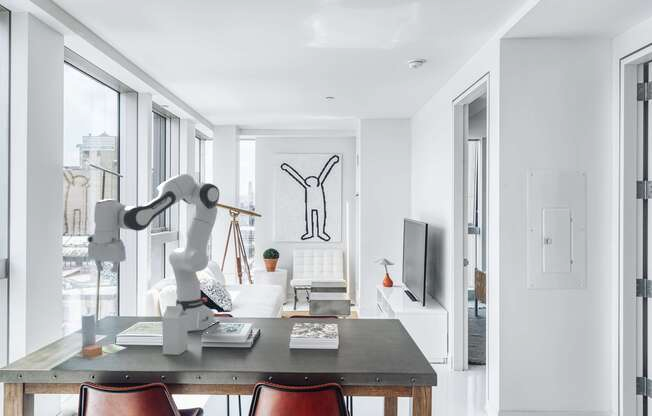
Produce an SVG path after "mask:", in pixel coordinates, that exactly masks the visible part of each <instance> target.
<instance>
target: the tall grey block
mask: <svg viewBox="0 0 652 416" xmlns="http://www.w3.org/2000/svg"><path fill="white" fill-rule="evenodd" d="M81 337H82V338H81V341H82V342H81V343H82V349H83V348H84V347H88V346H91V345H94V344H95V345H97V343H96V341H97V340H96V314H95V313H87V314H83V315H81Z"/></svg>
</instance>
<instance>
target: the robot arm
mask: <svg viewBox="0 0 652 416" xmlns="http://www.w3.org/2000/svg"><path fill="white" fill-rule="evenodd" d="M155 196H156V198H154V199H153V200H151V201H150V202H148V203H147V204H145V205H137V206H128V205H125V204H123V203H122V202H121V203H120V202H119V201H117V199H115V198H108V199H107V198H105V199H100V200H98V201H96V203H95V206H94V213H93V218H94V219H93V221H94V223H95V224H94V225H95V226H94V234H92V235H89V236H88V237H87V239H86V240H87V243H88V244H87V254H88V258H89V260H92V261H94V263H95V266H96V270H97V272H102V271H104V266H103V263H102V261H104V262H111V263H112V267H110V270H111V273H114V274H115V273H118V268H119V266H120V263H121V262H125V261H126V259H127V255H126V248H125V244H124V241H123V240H122V239H121V238H119V229H123V230H131V231H136V232H139V231H143V230H145V229H147V228H148V227H149V226H150V225H151V223H152V221H153V220H154V219H155V218H156V217H157V216H160V214H162V213H163V212H165V211H166V210H167V209H169V208H170V207H172V206H173V205H175V204H176V203H179V202H180V201H183V202H184V203H187V204H189V205H195V212H194V213H193V215H192V219H191V221H190V223H189V226H188V228H187V231H186V234H185V235H186V238H187V239H186V247H183V246H182V247H178V248H175V249H173V250H172V251H171V252H170V253H169V256H168V261H169V264H170V265H171V267H172V270H173V274H174V278H175V282H176V284H175V285H176V301H175V306H182V308H183V310H184V311H185V312H186V314H187V332H193V331H204V330H206V329H209V328H210V327H209V326H210V325H211V324H212V323H216V322H219V323H220V320H219V319H217V318H215V314H214V310H212V309H211V308H209V307H207V305H205V304H204V302H205V303H207V302H208V298H207V297H201V296H202V295H201V281H200V279H199V277H198V275H197V272H198V273H199V272H201V271H203V270H205V269H206V268H207V267H208V264H209V258H208V257H209V256H208V252H207V250H208V243H209V240H210V236H211V234H212V231H213V228H214V226H215V223H216V221H217V220H216V219H217V216H218V207H217V204H218V202H219V199H220V190H219V188H218V187H217V185H215V184H213V183H210V182H209V183H206V182H196V181H195V179H194V178H193V176H191V175H190V174H187V173H182V174H178V175H175V176H174V177H170V178H169V179H167V180H166V181H164V182H162V183H161V184H159V186H157V187H156V191H155ZM208 327H209V328H208Z"/></svg>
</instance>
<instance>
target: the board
mask: <svg viewBox="0 0 652 416" xmlns="http://www.w3.org/2000/svg"><path fill="white" fill-rule="evenodd" d="M126 349H127V347H125V346H121V345H118V344H113V343H110V344H107V345H103V346H102V354H100V355H97V356H94V357H87V356H83V352H81V353H78V354H75V355H74V356H75V357H79V358H83V359H85V360H89V361H93V360H96V359H99V358H102V357H106V356H108V355H110V354H114V353H117V352H120V351H124V350H126Z"/></svg>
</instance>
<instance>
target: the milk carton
mask: <svg viewBox="0 0 652 416" xmlns="http://www.w3.org/2000/svg"><path fill="white" fill-rule="evenodd" d="M161 321H162V323H161V324H162V355H169V356H170V355H173V356H174V355H175V356H179V355H181V354H183V353H184V352H185V351H187V350H188V331H187V314H186V312H185V311H184V310H183V308H182V306H176V305H166V309H165V311H164V313H163V315H162V317H161Z"/></svg>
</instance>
